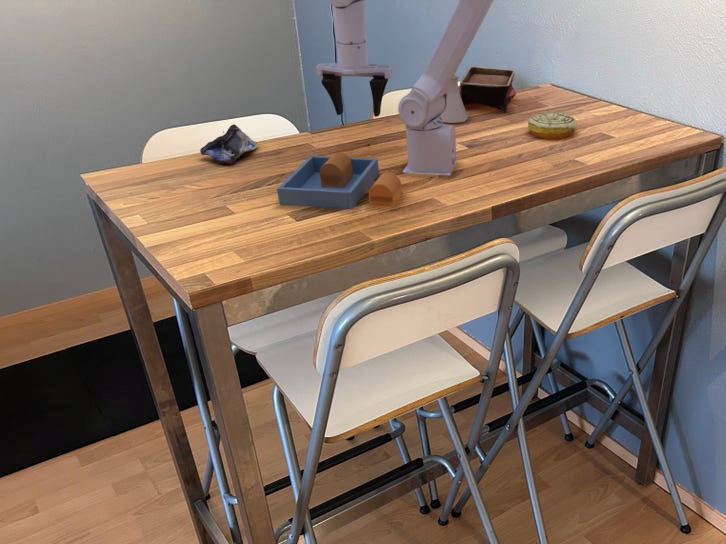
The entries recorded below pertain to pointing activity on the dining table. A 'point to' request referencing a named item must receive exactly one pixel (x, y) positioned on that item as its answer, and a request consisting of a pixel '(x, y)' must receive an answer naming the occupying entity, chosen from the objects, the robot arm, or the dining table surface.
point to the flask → (454, 104)
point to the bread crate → (308, 190)
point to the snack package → (229, 146)
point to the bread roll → (385, 190)
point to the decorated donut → (552, 125)
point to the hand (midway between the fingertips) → (358, 114)
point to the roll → (336, 171)
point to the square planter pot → (487, 87)
